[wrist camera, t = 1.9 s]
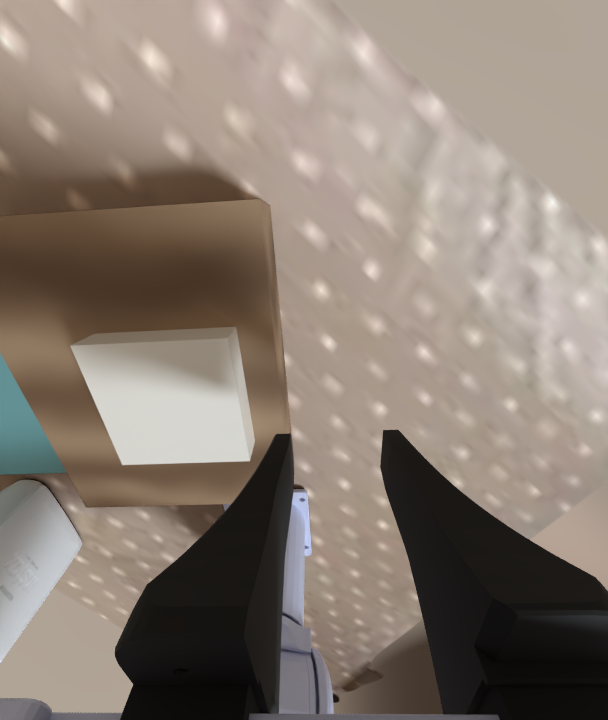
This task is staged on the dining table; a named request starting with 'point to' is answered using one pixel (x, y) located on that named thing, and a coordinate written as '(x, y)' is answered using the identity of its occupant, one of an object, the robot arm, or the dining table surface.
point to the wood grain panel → (140, 328)
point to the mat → (22, 433)
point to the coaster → (170, 394)
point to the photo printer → (30, 554)
